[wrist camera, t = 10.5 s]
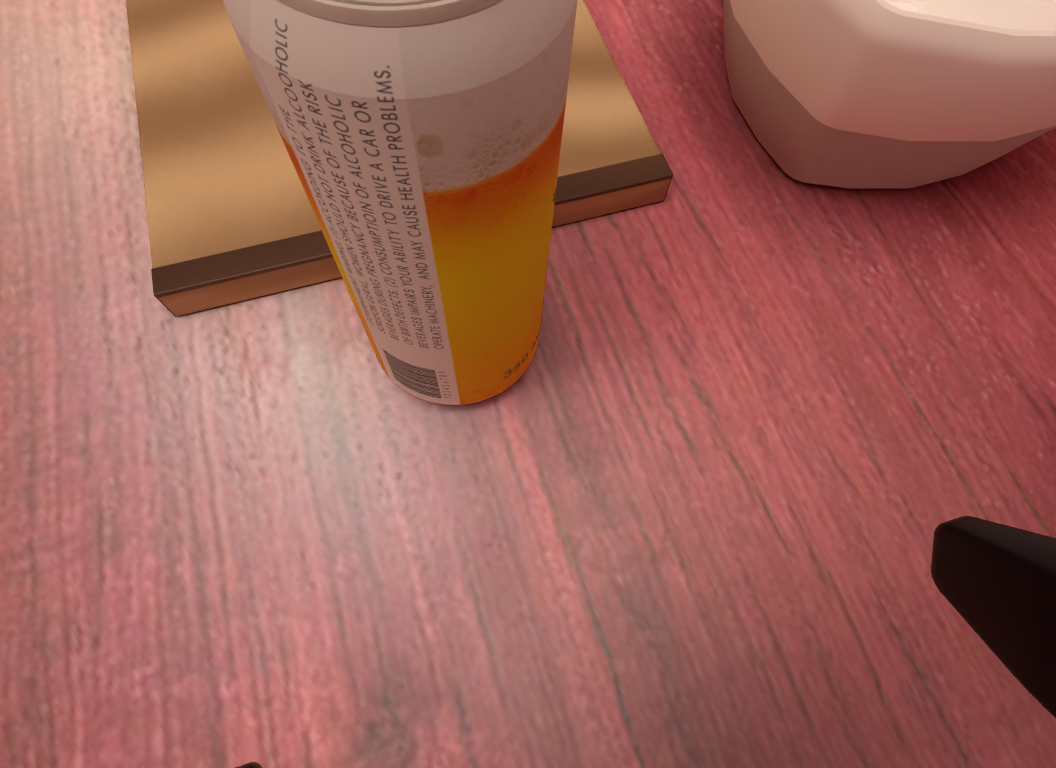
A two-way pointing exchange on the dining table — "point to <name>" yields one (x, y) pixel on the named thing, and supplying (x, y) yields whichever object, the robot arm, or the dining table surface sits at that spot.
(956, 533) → the robot arm
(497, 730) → the dining table surface
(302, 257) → the board
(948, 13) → the bowl
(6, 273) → the dining table surface
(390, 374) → the beer can
